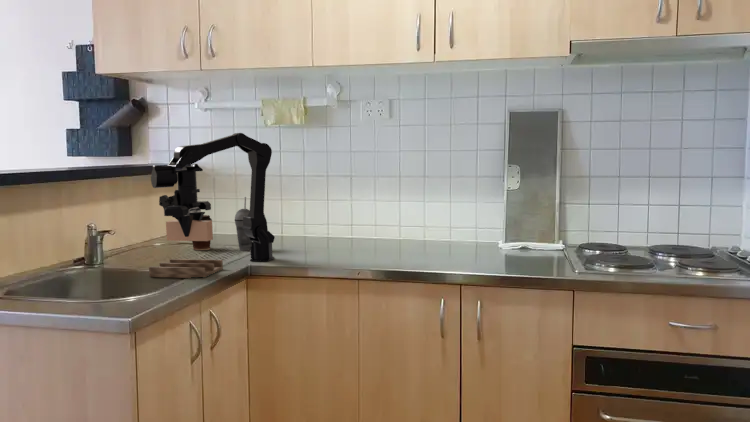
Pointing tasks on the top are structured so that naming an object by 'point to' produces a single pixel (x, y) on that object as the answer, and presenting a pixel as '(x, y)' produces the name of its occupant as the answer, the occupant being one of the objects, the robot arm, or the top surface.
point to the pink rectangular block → (198, 231)
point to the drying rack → (186, 268)
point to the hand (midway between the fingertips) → (189, 235)
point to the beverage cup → (242, 237)
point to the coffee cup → (202, 244)
